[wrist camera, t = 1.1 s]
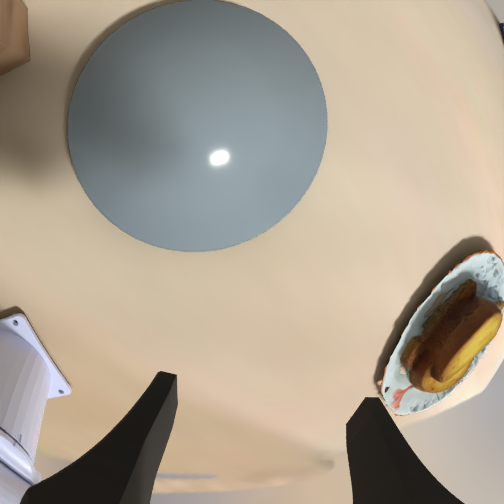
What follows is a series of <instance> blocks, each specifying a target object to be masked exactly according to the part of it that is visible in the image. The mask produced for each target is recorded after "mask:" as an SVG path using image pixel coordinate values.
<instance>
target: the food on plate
mask: <svg viewBox="0 0 504 504" xmlns="http://www.w3.org/2000/svg"><path fill="white" fill-rule="evenodd" d="M450 289H452V290H451V292H450V293H449V294H448V295H447V296H446V297H445V298H444V300H443V301H442V302H441V304H440V305H439V306H438V307H437V308H436V309H435V310H433V311H432V312H431V313H430V314H429V315H428V316H427V317H425V314H426V312H427V311H428V310H429V309H430V307H431V306H432V305H433V304H434V301H435V300H436V298H437V297H438V296H439V295H440V294H444V293H446V292H448V291H449V290H450ZM503 312H504V263H503V261H502V259H501V258H500V257H499V256H498V255H497V254H496V253H495V252H494V251H493V250H492V249H490V251H488V250H485V251H484V252H482V251H481V250H480V253H474V254H472V255H468V256H467V257H466V258H465V259H464V261H463V262H462V263H459V264H456V266H455V267H454V268H453V271H451V270H449V272H448V275H447V276H445V278H444V279H443V280H442V281H441V282H440V283H439V284H438V285H437V286H435V287H434V288H433V289H432V293H431V295H430V296H429V297H428V298H427V299H426V300H425V301H424V302H423V303H422V304H421V305H420V306H418V307H417V311H416V312H415V313H414V315H413V316H412V318H411V319H410V321H409V324H408V326H407V327H406V328H405V330H404V331H403V333H402V335H401V336H402V337H401V339H400V341H399V343H398V345H397V347H396V349H395V350H394V352H393V354H392V355H391V357H390V361H389V363H388V365H387V366H386V367H385V370H384V373H385V375H384V377H383V378H382V380H383V382H382V383H381V392H380V393H382V394H383V398H384V399H385V400H386V404H387V405H389V407H390V408H391V409H392V410H393V411H395V412H397V413H396V414H394V415H396V416H398V415H400V416H404V415H407V414H414V413H418V412H422V411H425V410H428V409H429V408H430V407H432V406H434V405H436V404H438V403H439V402H441V401H442V400H444V399H445V398H446V397H448V396H449V395H450V394H451V393H452V392H453V391H454V390H455V389H456V388H457V387H458V386H459V385H460V384H461V383H462V382H463V381H464V379H465V378H466V377H467V376H468V375H469V374H470V373H471V372H472V371H473V369H474V368H475V366H476V365H477V363H478V362H479V360H480V359H481V358H482V357H483V355H484V353H485V351H486V350H487V348H488V347H489V345H490V343H491V341H492V340H493V339H494V337H495V336H496V334H497V332H498V329H499V327H500V325H501V322H502V316H503ZM400 366H405V367H406V372H407V373H408V374H407V376H406V375H405V374H400V371H401V370H400ZM389 386H390V388H389V389H388V391H387V392H386V393H385V388H386V387H389Z"/></svg>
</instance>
